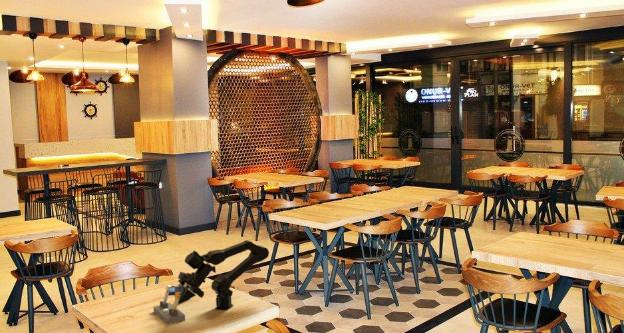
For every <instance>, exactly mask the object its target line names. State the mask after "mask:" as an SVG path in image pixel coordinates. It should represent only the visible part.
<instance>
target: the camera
mask: <svg viewBox="0 0 624 333" xmlns="http://www.w3.org/2000/svg"><path fill="white" fill-rule="evenodd" d="M170 286H171V285H170ZM174 286H175V285H172V286H171V290H170V291H169V294H168V296H175V288H174Z"/></svg>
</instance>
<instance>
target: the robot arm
mask: <svg viewBox="0 0 624 333" xmlns="http://www.w3.org/2000/svg"><path fill="white" fill-rule="evenodd" d="M246 251H249V252H250V253H249V254H248V256H246V258H244V259H243V260H242V261H241V262H240V263H239V264H237V265H236V266H235V267H234V268H233V269H231V270H230V271H228V273H227V274H224V275H222V274H219V275H218V276H217V277H215V278H213V280H212V282H211V289H212V291H213V292H214V293H215V294H216V298H215V306H216V307H215V309H216V310H224V311H227V310H230V309H231V308H232V307H233V306H234V304H233V303H232V296H233V294H234V292H233V290H231V289H230V288H231V287H232V284H233V283H234V282H235V281H236V280H237V279H238V278H240V277H241V276H242V275H243V274H244V273H246V271H248V270H249V269H250V268H251V267H252V266H254V265H255V264H257V263H260V262H263V261H264V260H266V259H267V258H269V254H270V251H269V249H268V248H267V247H265V246H262V245H260V244H259V245H257V244H256V243H254V242H253V241H250V240H247V239H246V240H244V241H242V242H238V243H236V244H234V245H231V246H228V247H226V248H223V249H215V250H214V249H213V250H210V251H207V253H206V254H202V255H200V254H199V253H198V252H197V251H196V250H193V251H192V252H189V254H187V255H186V257H185V258H184V263H185V264H186V265H188V266H189V267H190V268H192V269H193V270H196V271H195V272H191V273H189V272H183V271H179V274H178V277H177V279H178V281H177V282H178V284H180V283H181V284H182V285H183V286H182V289H183V291H182V294H181V297H180V299H179V301H178V303H180V305H181V304H183V303H185V302H187V301H189V300H188V299H190V300H191V299H192V298H195V297H196V296H198V297H200V298H201V299H203V297H204V296H205V292H204V291H203V290H202V289H201V288H200V286H201V285H203V283H206V281H207V280H206V279H207V277H208V276H209V274H210V273H211V272H213V273H215V274H216V273H217V271H216V266H217V265H219V264H222V263H223V262H225V261H226V260H227V259H228V258H230V257H234V256H235V255H239V254H241V253H243V252H246ZM186 300H187V301H186Z"/></svg>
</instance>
